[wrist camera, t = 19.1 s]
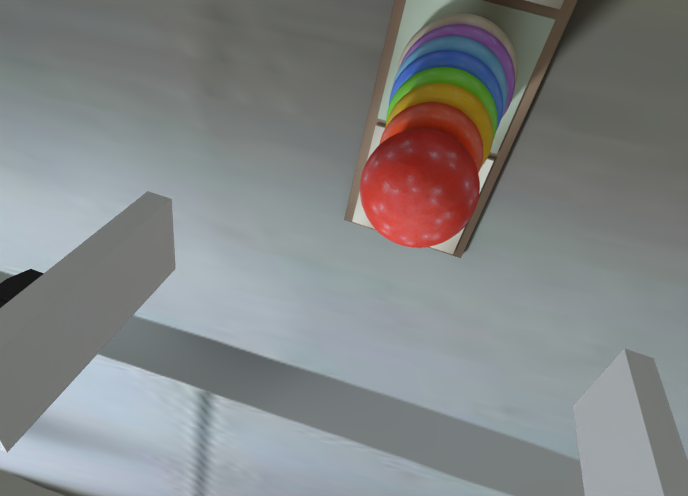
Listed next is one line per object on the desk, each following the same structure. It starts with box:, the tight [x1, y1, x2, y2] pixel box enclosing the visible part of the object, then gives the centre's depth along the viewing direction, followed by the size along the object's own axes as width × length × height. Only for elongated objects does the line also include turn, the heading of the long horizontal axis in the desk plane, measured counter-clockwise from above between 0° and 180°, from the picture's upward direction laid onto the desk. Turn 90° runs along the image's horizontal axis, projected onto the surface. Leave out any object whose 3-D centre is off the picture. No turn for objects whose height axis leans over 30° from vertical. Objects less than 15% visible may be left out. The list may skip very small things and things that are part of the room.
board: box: [344, 0, 578, 258], centre depth 33 cm, size 11×30×1 cm, turn 169°
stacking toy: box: [360, 13, 518, 248], centre depth 25 cm, size 8×8×19 cm
